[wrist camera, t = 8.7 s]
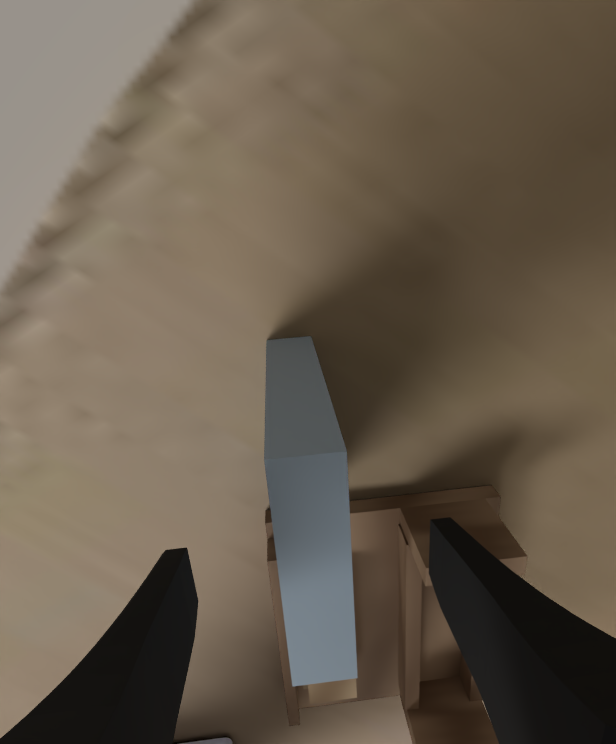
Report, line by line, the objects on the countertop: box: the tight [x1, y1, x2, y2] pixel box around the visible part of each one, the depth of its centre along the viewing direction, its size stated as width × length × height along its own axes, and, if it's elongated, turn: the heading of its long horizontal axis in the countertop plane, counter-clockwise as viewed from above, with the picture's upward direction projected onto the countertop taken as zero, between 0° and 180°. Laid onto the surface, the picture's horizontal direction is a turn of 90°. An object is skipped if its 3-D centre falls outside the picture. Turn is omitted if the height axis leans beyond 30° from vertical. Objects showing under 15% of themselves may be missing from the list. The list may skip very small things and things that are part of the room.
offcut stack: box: [303, 678, 357, 704], centre depth 24 cm, size 3×8×2 cm, turn 4°
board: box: [264, 336, 358, 687], centre depth 17 cm, size 2×8×10 cm, turn 4°
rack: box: [265, 485, 527, 744], centre depth 24 cm, size 12×14×5 cm
